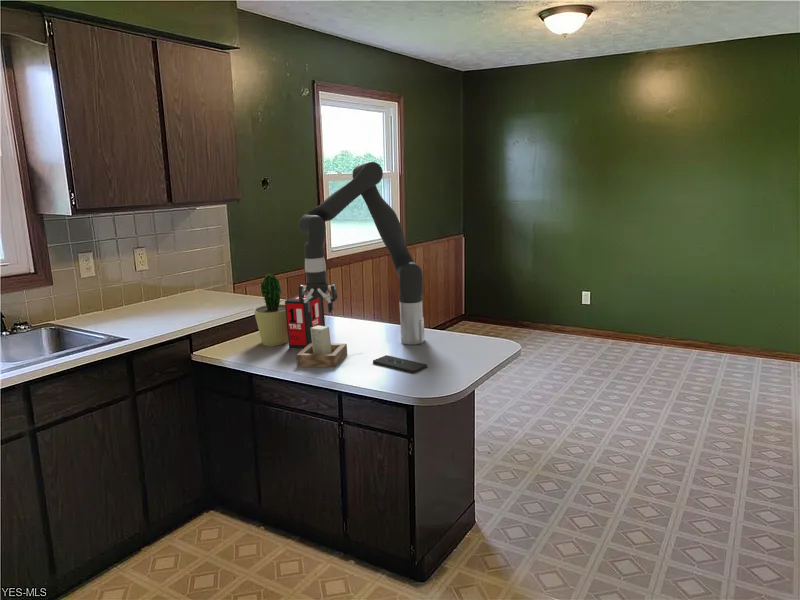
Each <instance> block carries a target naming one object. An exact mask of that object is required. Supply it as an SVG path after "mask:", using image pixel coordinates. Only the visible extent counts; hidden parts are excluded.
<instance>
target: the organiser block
mask: <svg viewBox="0 0 800 600" xmlns="http://www.w3.org/2000/svg"><path fill="white" fill-rule="evenodd" d="M347 344H348V343H335V342H334V343H332V342H331V351H332V354H313V347H312V343H310V344H308V345H307V346H306V347H305V348H304V349H301V350H300V351H299V352H298V353H297V354H296V355H295V356H296V366H297V367H301V368H302V367H303V368H304V367H305V368H306V367H307V368H337V367H338V366H339V365H340V363H341V362H342V361H344V359H345V358H346V357H347V356H348V345H347ZM338 364H339V365H338ZM337 365H338V366H337ZM336 366H337V367H336Z"/></svg>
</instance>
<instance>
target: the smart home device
mask: <svg viewBox="0 0 800 600" xmlns="http://www.w3.org/2000/svg"><path fill="white" fill-rule="evenodd" d="M372 364H373V365H376V366H381V367H384V368H389V369H393V370H397V371H401V372H405V373H409V374H417V373H418V372H421V371H423V370H425V369H428V364H426V363H423V362H419V361H415V360H414V361H413V360H410V359H406V358H401V357H397V356H393V355H383V356H380V357H378V358H376V359H372Z"/></svg>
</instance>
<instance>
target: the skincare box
mask: <svg viewBox="0 0 800 600" xmlns="http://www.w3.org/2000/svg"><path fill="white" fill-rule="evenodd" d="M310 329H311V338H312V347H313V354H332V351H331V343H332V342H331V334H330V331H331V330H330V326H327V325H325V326H320V325H317V326H314V327H311V328H310Z"/></svg>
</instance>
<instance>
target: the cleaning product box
mask: <svg viewBox="0 0 800 600" xmlns="http://www.w3.org/2000/svg"><path fill="white" fill-rule="evenodd" d="M308 293H309V292H308V291H306V292H305V291H304V298H306V296H307V295H308ZM309 302H310V312H309V313H307V311H305V304H304V302H302V301H301V302H300V301H299V294H296V295H295V296H293V297H290V298H288V299H286V300H284V304H285V309H286V320H287V331H288V342H287V343H288V348H289V349H294V350H295V349H296V350H303V349H304V348H305V347H306V346H307V345H308V344H310V343H312V338H311V329H310V328H311V327H314V326H317V325H320V326H326V319H325V318H326V317H325V306H324V297H323V296H322V297H318V296H317V297H313V296H312V297H311V298H310V300H309Z"/></svg>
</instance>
